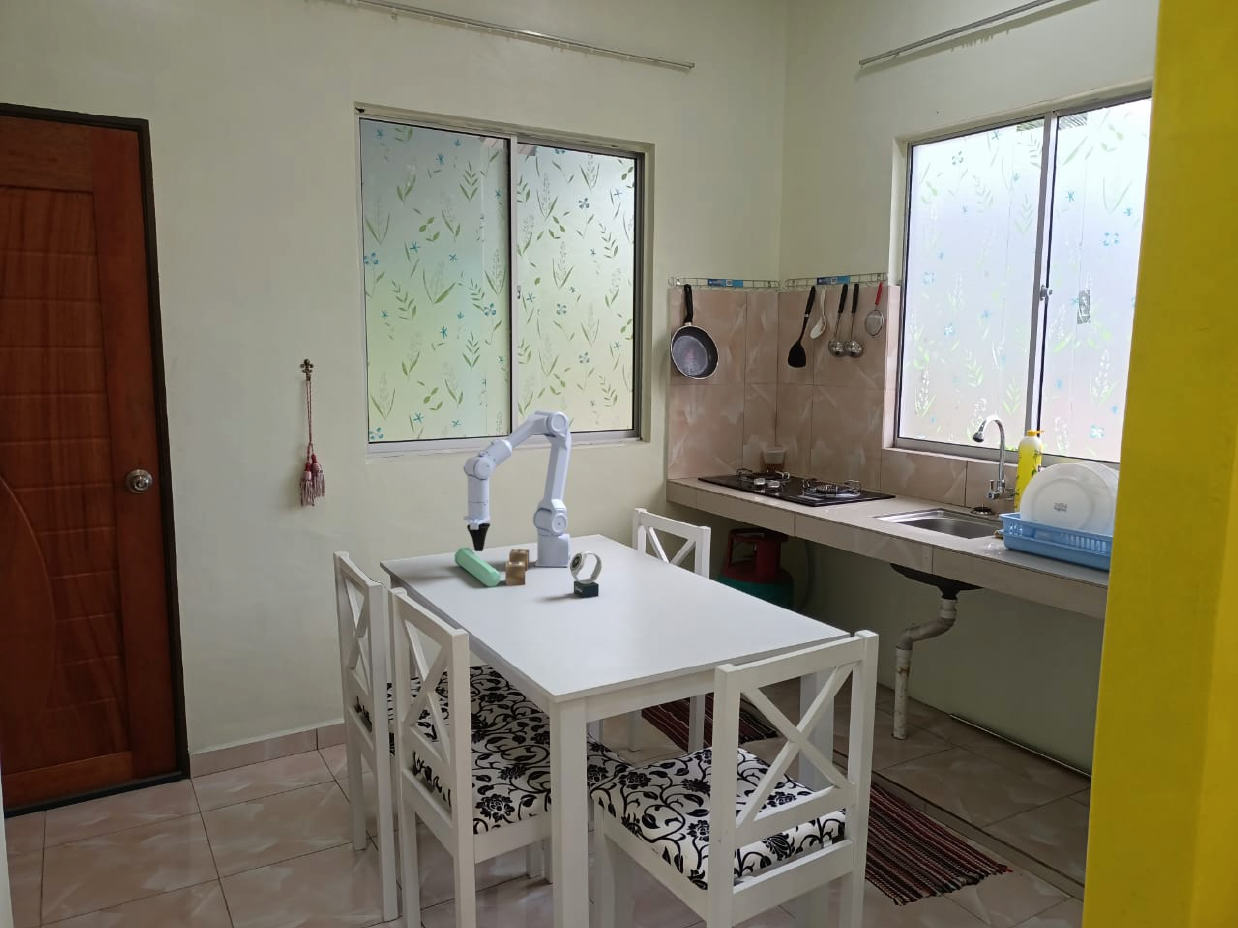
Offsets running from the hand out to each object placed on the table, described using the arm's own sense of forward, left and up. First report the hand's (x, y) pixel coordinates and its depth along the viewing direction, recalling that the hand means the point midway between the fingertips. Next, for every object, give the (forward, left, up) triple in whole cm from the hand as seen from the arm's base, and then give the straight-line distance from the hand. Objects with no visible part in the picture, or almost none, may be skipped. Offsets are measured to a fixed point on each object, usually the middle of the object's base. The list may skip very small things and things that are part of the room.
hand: (478, 550), depth 246 cm
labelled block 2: (-11, +7, -7) cm, 14 cm away
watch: (-30, +17, -7) cm, 35 cm away
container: (0, +1, -7) cm, 7 cm away
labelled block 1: (-10, -8, -7) cm, 15 cm away
